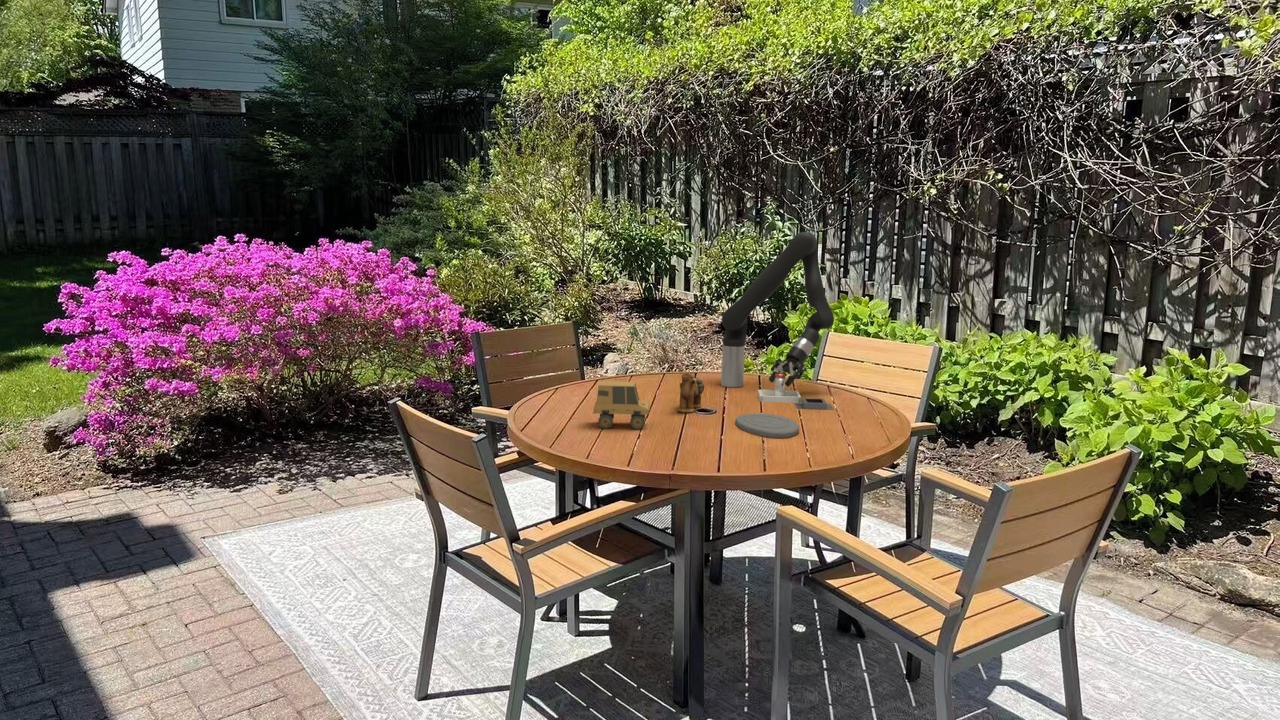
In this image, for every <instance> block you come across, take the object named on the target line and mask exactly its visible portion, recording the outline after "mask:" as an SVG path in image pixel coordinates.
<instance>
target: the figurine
mask: <svg viewBox="0 0 1280 720" xmlns="http://www.w3.org/2000/svg"><path fill="white" fill-rule="evenodd" d="M703 382H704V380H702V379H699V378H698V377H696V376H693V375H692V374H691V373H689V372H686V373H683V374H682V375H681V382H680V383H679V389H680V391H679V407H678V408H677V412H678V413H686V414H687V413H688V414H689V413H694V412H695V411H696V409H695V408H698V409H699V408H701V407H702V394H703V393H704V391H705V385H704V384H703Z"/></svg>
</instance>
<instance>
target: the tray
mask: <svg viewBox="0 0 1280 720" xmlns="http://www.w3.org/2000/svg"><path fill="white" fill-rule="evenodd" d="M774 393H775V389H758V390H757V398H758V400H759V403H783V404H785V403H789V404H792V403H793V404H794V403H801V401H802V396H801V395H800V392H799V391H798V390H790V389H789V390H787V389H785V396H774Z"/></svg>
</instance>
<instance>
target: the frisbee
mask: <svg viewBox="0 0 1280 720" xmlns="http://www.w3.org/2000/svg"><path fill="white" fill-rule="evenodd" d="M735 424H736V427H737V428H739V429H740V430H742V431H744V432H746V433H750V434H752V435H756V436H759V437H761V438H762V437H763V438H769V439H788V438H793V437H796V436H797V435H798V434H799V432H800V426H799V424H798V423H797V422H796V421H794V420H793V419H790V418H789V417H785V416H782V415H778V414H772V413H760V412H759V413H756V412H755V413H746V414H741V415H738V416H736V418H735Z"/></svg>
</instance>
